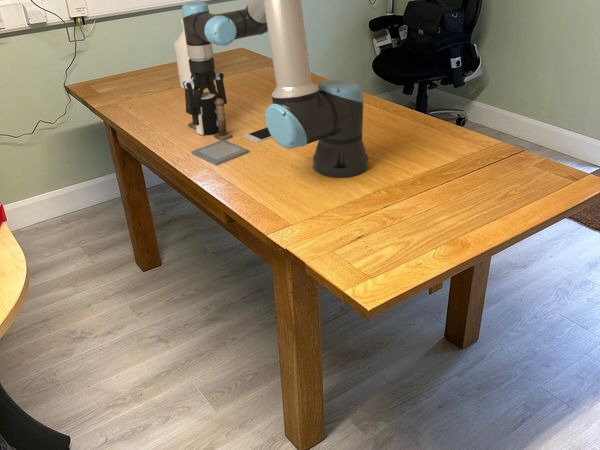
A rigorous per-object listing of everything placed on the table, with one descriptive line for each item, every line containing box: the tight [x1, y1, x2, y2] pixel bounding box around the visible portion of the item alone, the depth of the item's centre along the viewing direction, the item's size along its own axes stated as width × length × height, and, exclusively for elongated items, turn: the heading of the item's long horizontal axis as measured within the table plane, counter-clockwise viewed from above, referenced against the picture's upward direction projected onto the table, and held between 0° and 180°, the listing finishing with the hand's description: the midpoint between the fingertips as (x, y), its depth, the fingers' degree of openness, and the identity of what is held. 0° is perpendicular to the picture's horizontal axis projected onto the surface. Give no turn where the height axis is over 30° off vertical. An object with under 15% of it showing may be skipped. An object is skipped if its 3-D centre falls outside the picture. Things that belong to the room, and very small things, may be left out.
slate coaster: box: [190, 139, 250, 166], centre depth 171 cm, size 12×12×1 cm
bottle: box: [173, 17, 194, 89], centre depth 223 cm, size 12×12×25 cm
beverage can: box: [199, 91, 219, 136], centre depth 183 cm, size 7×7×12 cm
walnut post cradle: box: [187, 88, 233, 141], centre depth 183 cm, size 18×4×13 cm, turn 44°
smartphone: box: [242, 126, 273, 144], centre depth 184 cm, size 7×15×1 cm, turn 131°
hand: (209, 130), depth 186 cm, fingers closed on beverage can, 7 cm apart
